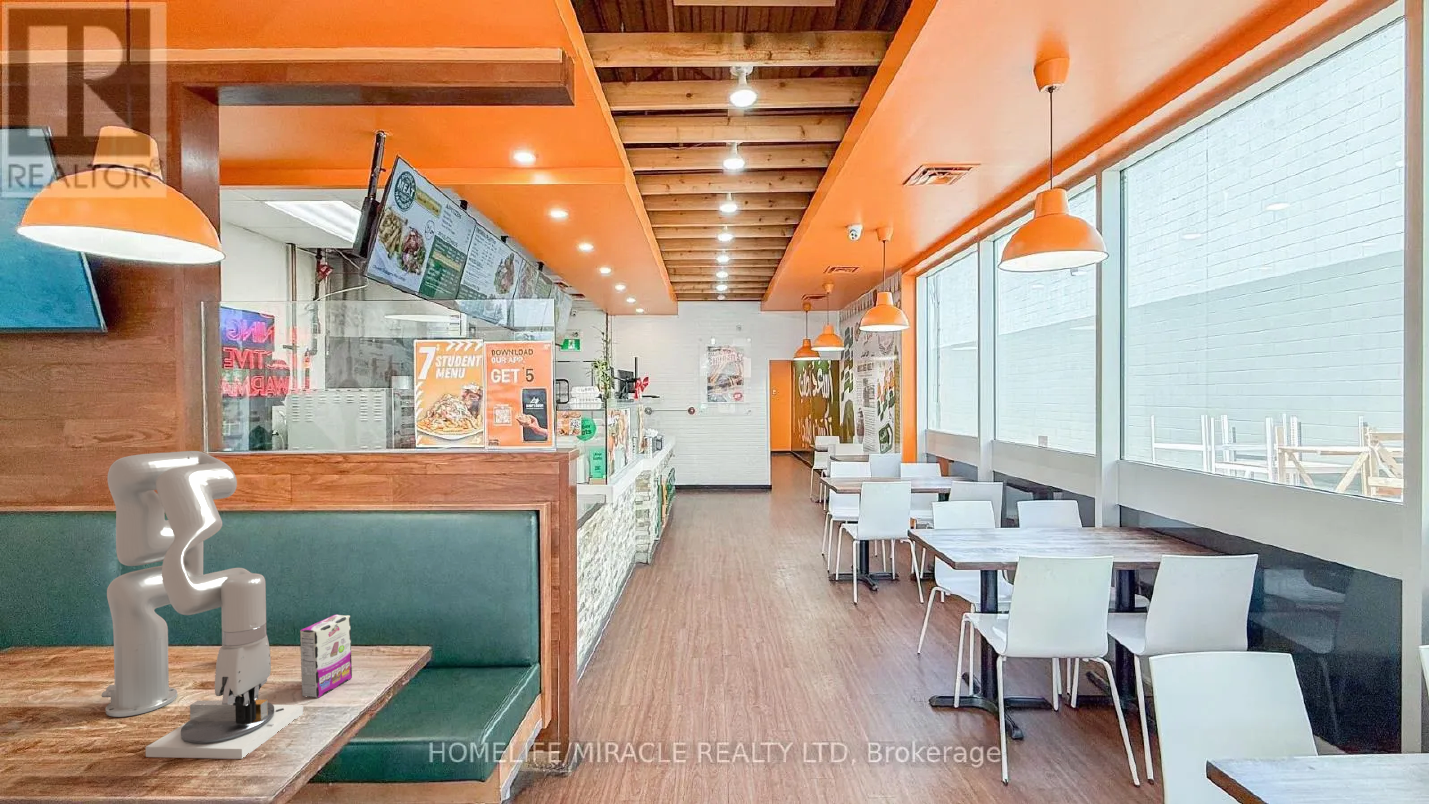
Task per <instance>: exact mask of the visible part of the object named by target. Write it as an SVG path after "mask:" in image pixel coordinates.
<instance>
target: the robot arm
mask: <svg viewBox="0 0 1429 804" xmlns="http://www.w3.org/2000/svg"><path fill="white" fill-rule="evenodd" d="M107 485H108V489H109V491H110V495H111V497H112V500H113V503H114V505H115V514H116V515H115V517H116V518H115V552H116V557H117V560H118V562H119V563H120V564H122V565H123V566H127V567H137V566H145V565H148V564H154V563H158V562H162V564H161V565H159V566H151V567H148V568H143V569H138V570H132V571H130V572H126V573H123V574H121V575H119V576H117V577H116V578H114V579H113V580H112V581H111V582H110V583H109V585H108V587H107V588H106V597H107V603H108V607H109V610H110V615H111V621H112V631H113V632H112V633H113V660H114V661H113V663H114V665H113V666H114V668H113V669H114V674H113V675H114V684H109V685H107V687H106V688H105V690H104V691H102V693H101V694H100V695H101V698H110V703H108V704H107V706H106V707H105V714H106V716H109V717H112V718H123V717H124V718H125V717H131V716H136V715H142V714H146V713H148V712H149V713H150V712H152V711H155V710H157V709H160V708H163V707H165V706H167V705H168V704H171V703H172V702H173V701H174V700H176V699H177V697H178V689H176V688H174V687H169V683H170V681H169V676H170V675H169V628H168V623H167V622H166V620H165V619H164V618H163V617H162V616H160V615H159V614H157V612H156V611H155V610H156V609H157V608H162V607H164V606H167V605H171V606H172V608H173V609H174V610H175V611H176V612H177V614H180V615H184V616H192V615H197V614H200V613H204V612H208V611H211V610H215V609H218V608H221V647H219V649H218V653H217V657H216V664H215V672H214V673H215V675H214V695H215V696H216V697H221V696H222V699H221V700H222V704H223V705H229V704H233V706H235V710H236V723H237V724H249V723H251V722H252V721H254V720H255V719H256V701H255V700H259V699H258V698H259V692H260V690H261V688H262V687H263V686H264V685H265V684H266V683H267V681H268V678H269V677H270V676H271V672H272V671H271V670H272V663H271V662H272V661H271V660H272V657H271V649H270V643H269V638H268V634H267V601H266V599H267V598H266V597H267V596H266V595H267V593H266V591H267V590H266V588H267V587H266V583H267V582H266V579H265V577H264V575H262V574H261V573H255V572H254V573H253V572H251V571H249V570H248V569H246V568H243V567H232V568H228V569H224V570H219V571H213V572H210V573H205V574H204V542H205V541H206V540H208V539H209V538H211V537H213V536H214V535H215V534H217V533H218V532H219V531H220V530H221V529H222V527H223V520H222V517H221V516H220V512H219V511H218V509H217V505H216V504H215V501H214V500H222V499H226V498H227V499H228V498H229V497H231V496H233V494H234V493H235V492H236V490H237V487H238V479H237V476H236V474H235V472H234V471H233V468H232V467H230V466H229V465H228V464H227V463H226V462H224V461H223V460H221V459H219V458H216V457H214V456H212V455H210V454H208V453H206V452H203V451H198V450H185V451H184V450H183V451H170V452H155V453H154V452H153V453H142V454H141V453H140V454H132V455H129V456H124V457H121V458H118V459H117V460H115V461H113V463H112V464H111V465H110V466H109V470H108V472H107ZM165 516H166V519H165Z"/></svg>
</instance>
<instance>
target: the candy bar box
mask: <svg viewBox="0 0 1429 804" xmlns="http://www.w3.org/2000/svg"><path fill="white" fill-rule="evenodd" d="M351 630H352V629H351V615H345V614H333V615H331V616H329V617H327V618H324V619H322V620H320V621H318V622H316V623H315V622H314V624H311V625H309V626H306V627H305V628H301V629H300V630H299V636H300V637H299V638H300V640H299V641H300V664H301V666H300V669H301V671H300V673H301V674H300V675H301V695H302V697H304V696H307V697H306V698H313V697H314V698H316V699H319V698H321V697H323V696H324V695H326V694H327V693H329V692H331V691H332V690H335V689H336V688H338V687H339V686H342V685H343V684H345V683H346V682H348V681H350V680H351V679H352V678H353V671H352V670H353V668H352V665H353V664H352V663H353V662H352V633H351Z"/></svg>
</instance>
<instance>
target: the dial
mask: <svg viewBox="0 0 1429 804" xmlns="http://www.w3.org/2000/svg"><path fill="white" fill-rule="evenodd" d="M255 701H256V719H255V720H254V721H252V722H251V723H249V724H237V723H236V710H235V706H233V704H229V705H223V704H222V699H220V700H219V699H217V700H196V701H195V702H194V701H193V703H191V704H190V705H189V720H188V721H187V722H185V723H186V724H185V723H184V724H185V725H184V726H183V727H182V729H181V739H182V740H183V741H185V742H188V743H193V744H206V743H214V742H220V741H225V740H229V739H232V738H236V737H239V736H242V735H245V734H247V733H250V732H252V731H254V730H256V729H258V728H260V727H262V726H263V725H265V724H266V723H267V722H269V721H270V720H271V719H272V717H273V716H274V706H273V705H274V704H272V703H271V702H268V699H257V700H255Z"/></svg>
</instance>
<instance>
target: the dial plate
mask: <svg viewBox="0 0 1429 804" xmlns="http://www.w3.org/2000/svg"><path fill="white" fill-rule="evenodd" d="M272 705H273V706H274V716H273V717H272V719H271V720H270V721H269V722H267V723H266V724H265V725H263V726H262V727H260V728H258V729H256V730H254V731H252V732H250V733H247V734H245V735H242V736H239V737H236V738H232V739H229V740H225V741H220V742H214V743H206V744H193V743H188V742H185V741H183V740H182V739H181V729H182V727H183V726H184V725H185V724H186V723H187V722H185V723H183V724H182V725H180V726H178V727H177V728H174V730H171V731H170V732H169V733H167V734H165V735H164V736H163V735H162V737H160V738H158V739H157V740H155V741H154V742H152V743H149V744H148V745H146V746H145V757H146V758H177V759H178V758H182V759H184V758H185V759H192V758H193V759H226V760H227V759H228V760H229V759H230V760H231V759H232V760H233V759H234V760H238V759H239V760H242V759H244V758H246V757H247V756H248V755H249V754H251V753H252V752H254V751H255V750H256V749H257V748H259V747H260V746H261V744H262V745H263V744H264V743H266V742H267V741H269V740H270V739H271V738H272V737H274V736H275V735H276V734H278V733H279V732H280V730H281V729H282V728H283V729H284V727H285V726H286V727H287V726H289V725H290V724H292V723H293V722H294V721H295V720H294V719H296V720H297V719H298V718H300V717H301V716H303V714H304V705H303V704H272ZM299 716H300V717H299ZM293 720H294V721H293ZM292 721H293V722H292ZM289 723H290V724H289ZM288 724H289V725H288ZM286 727H285V728H286ZM283 729H282V730H283ZM282 730H281V731H282ZM278 731H279V732H278ZM277 732H278V733H277ZM248 753H249V754H248ZM247 754H248V755H247ZM246 755H247V756H246ZM243 757H244V758H243Z"/></svg>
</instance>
